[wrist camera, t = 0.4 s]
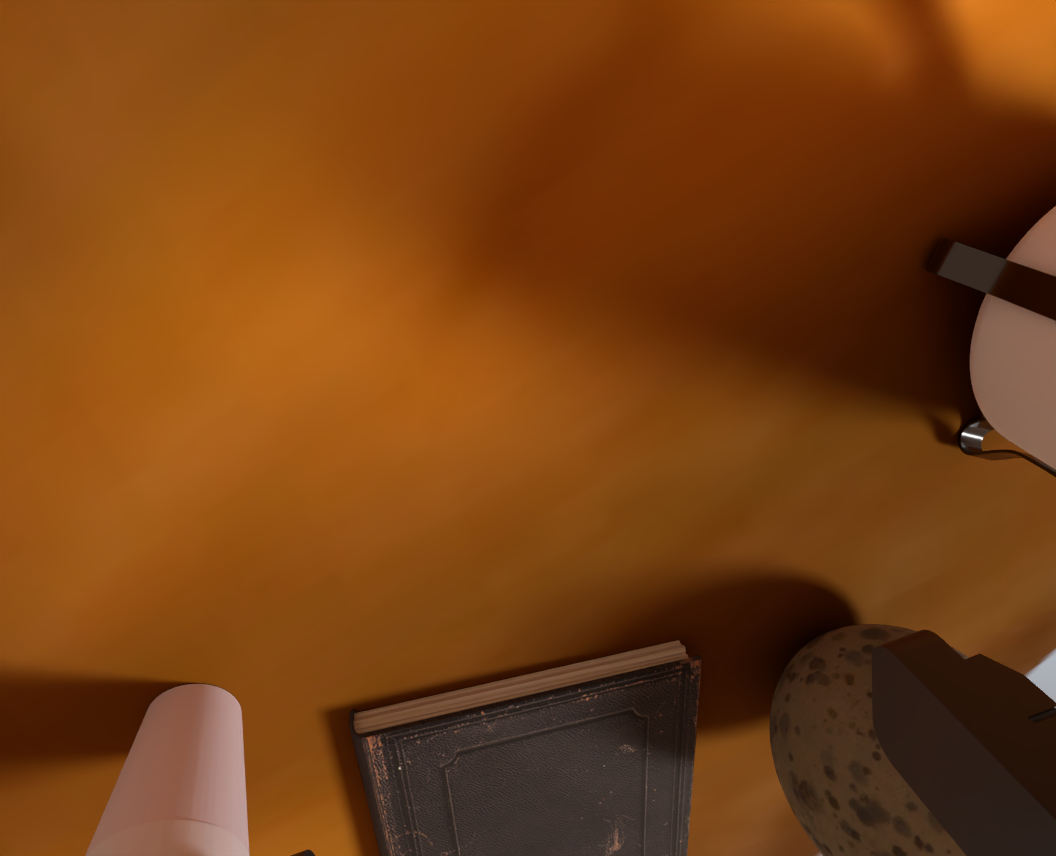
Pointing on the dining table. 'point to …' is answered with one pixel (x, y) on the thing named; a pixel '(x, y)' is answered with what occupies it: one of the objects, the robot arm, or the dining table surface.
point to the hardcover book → (539, 762)
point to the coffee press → (1011, 342)
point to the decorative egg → (846, 753)
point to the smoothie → (181, 781)
